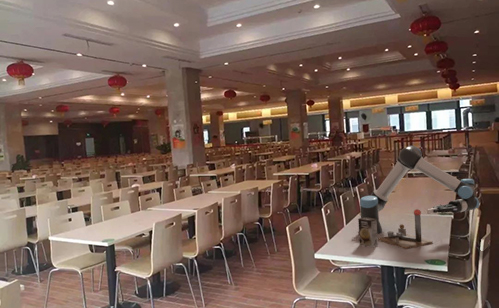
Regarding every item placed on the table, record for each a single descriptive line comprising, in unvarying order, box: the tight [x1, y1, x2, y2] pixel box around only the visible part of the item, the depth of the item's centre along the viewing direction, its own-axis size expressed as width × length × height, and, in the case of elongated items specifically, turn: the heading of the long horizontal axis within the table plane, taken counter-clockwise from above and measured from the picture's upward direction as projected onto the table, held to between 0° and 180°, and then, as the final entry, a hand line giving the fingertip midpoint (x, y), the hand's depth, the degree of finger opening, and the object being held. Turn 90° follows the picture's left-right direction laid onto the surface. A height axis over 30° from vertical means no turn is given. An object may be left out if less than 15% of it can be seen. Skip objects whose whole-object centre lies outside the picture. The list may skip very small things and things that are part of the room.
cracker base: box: [377, 223, 433, 250], centre depth 251 cm, size 20×24×8 cm
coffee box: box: [357, 217, 379, 248], centre depth 249 cm, size 9×6×16 cm
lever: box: [387, 208, 423, 242], centre depth 251 cm, size 21×4×19 cm, turn 42°
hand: (428, 211), depth 247 cm, fingers closed
